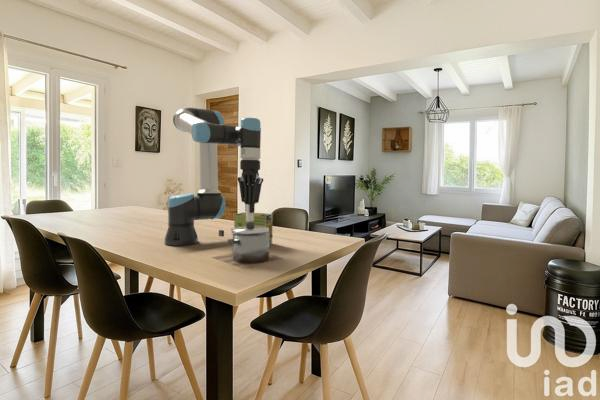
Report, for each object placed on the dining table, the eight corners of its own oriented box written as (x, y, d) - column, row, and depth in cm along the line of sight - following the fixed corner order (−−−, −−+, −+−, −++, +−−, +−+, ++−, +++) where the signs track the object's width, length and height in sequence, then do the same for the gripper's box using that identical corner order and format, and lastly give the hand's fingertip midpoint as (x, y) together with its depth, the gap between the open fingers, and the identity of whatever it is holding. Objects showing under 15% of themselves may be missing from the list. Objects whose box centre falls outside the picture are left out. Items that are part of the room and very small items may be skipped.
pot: (216, 258, 127) (216, 230, 126) (255, 250, 142) (256, 225, 141) (242, 267, 117) (242, 236, 116) (281, 257, 131) (281, 230, 130)
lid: (222, 232, 128) (222, 222, 128) (252, 227, 139) (251, 219, 138) (247, 235, 118) (247, 225, 118) (276, 231, 128) (276, 221, 128)
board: (211, 260, 129) (211, 257, 129) (251, 252, 144) (251, 249, 144) (243, 271, 116) (243, 268, 116) (283, 261, 131) (283, 258, 130)
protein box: (266, 250, 147) (266, 216, 146) (233, 248, 150) (233, 214, 149) (272, 245, 158) (273, 213, 156) (242, 243, 161) (242, 211, 159)
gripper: (231, 159, 128) (231, 219, 130) (253, 159, 119) (252, 223, 121) (247, 160, 133) (246, 218, 135) (269, 159, 124) (268, 222, 126)
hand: (249, 220), depth 128 cm, fingers closed
